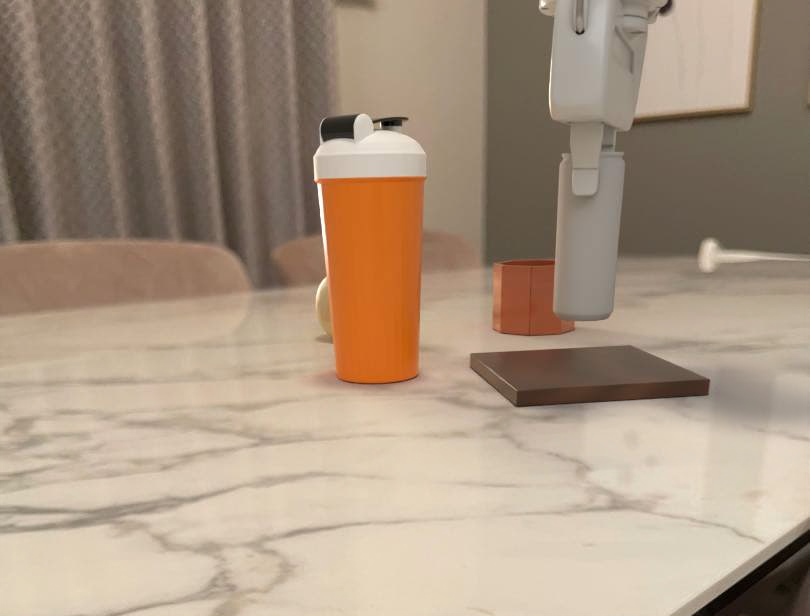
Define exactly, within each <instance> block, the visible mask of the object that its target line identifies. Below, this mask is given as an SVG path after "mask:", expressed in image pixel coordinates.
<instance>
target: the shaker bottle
mask: <svg viewBox="0 0 810 616" xmlns="http://www.w3.org/2000/svg"><path fill="white" fill-rule="evenodd" d="M408 121H410V118H409V117H407V116H388V117H378V118H371V117H370V116H369V115H368V114H366V113H354V114H345V115H343V114H342V115H333V116H327V117H325V118H323V119H322V120H321V122H320V124H319V128H318V131H319V146H318V147H317V150H316V152H315V154H314V155H313V157H312V158H313V175H314V179H313V180H314V182H315V184H317V190H318V191H317V192H318V193H317V194H318V202H319V209H320V210H319V212H320V223H321V232H322V242H323V252H324V261H325V263H324V264H325V271H326V272H325V273H326V277H327V282H328V293H329V303H330V313H331V323H332V333H333V337H332V341H333V342H332V343H333V350H334V351H333V352H334V361H335V371H336V377H337V378H338V379H340V380H342V381H345V382H349V383H356V384H390V383H396V382H397V383H398V382H403V381H408V380H411V379H414V378H415V377H417V376H418V374H419V365H420V364H419V363H420V362H419V361H420V334H421V333H420V330H421V328H420V327H421V326H420V325H421V299H422V298H421V297H422V296H421V294H422V293H421V292H422V264H423V262H422V261H423V259H422V258H423V228H424V227H423V226H424V225H423V224H424V193H425V192H424V191H425V181H426V180H427V179H428V175H427V153H426V152H425V150H424V149H423V147H422V146H421V144H420V142H418V141H417V140H415V139H414V138H412V137H411V136H409V135H406V134H404V133H403V129H402V127H403V123H406V122H408ZM375 124H379V128H375V127H374V125H375Z"/></svg>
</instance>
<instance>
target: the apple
mask: <svg viewBox="0 0 810 616" xmlns="http://www.w3.org/2000/svg"><path fill="white" fill-rule="evenodd" d="M315 311H316V316H317V319H318V322H319V324H320V326H321V328H322V329H323V331H324V332H325V333H326V334H327V335H329V336H330V337H332V338H333V333H332V323H331V313H330V303H329V293H328V282H327V276H325V278H323V279H322V281H321V282H320V284H319V287H318V289H317V292H316V296H315Z"/></svg>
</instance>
